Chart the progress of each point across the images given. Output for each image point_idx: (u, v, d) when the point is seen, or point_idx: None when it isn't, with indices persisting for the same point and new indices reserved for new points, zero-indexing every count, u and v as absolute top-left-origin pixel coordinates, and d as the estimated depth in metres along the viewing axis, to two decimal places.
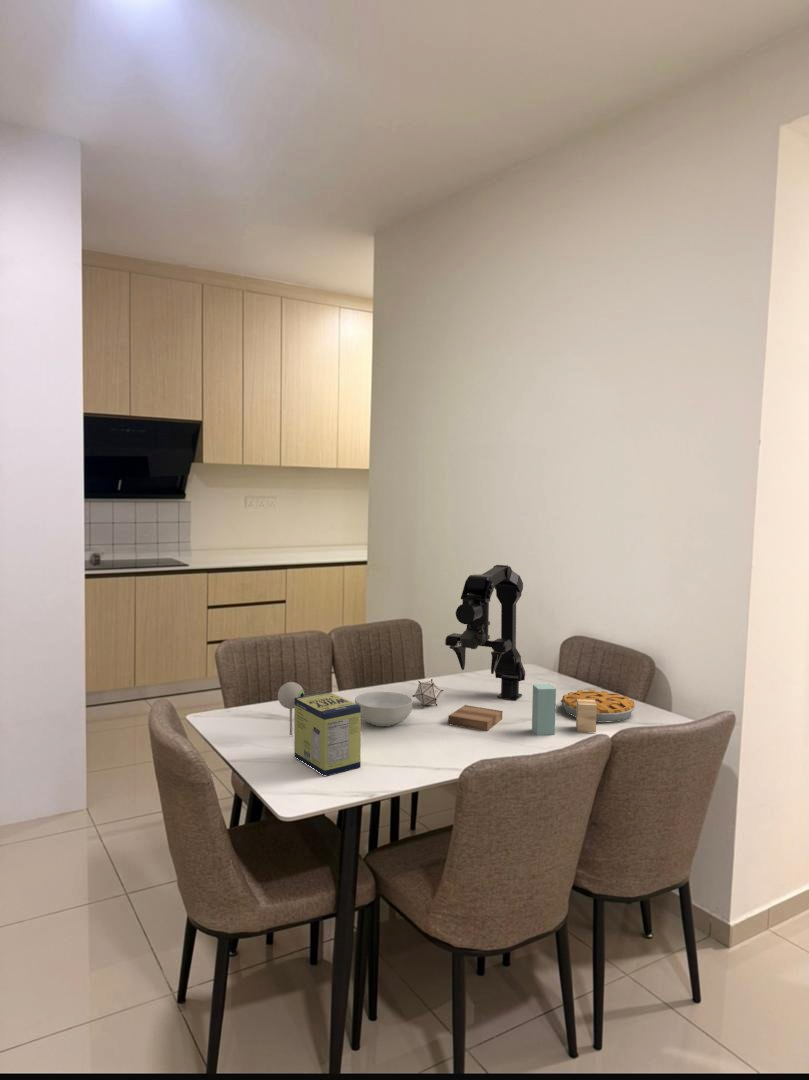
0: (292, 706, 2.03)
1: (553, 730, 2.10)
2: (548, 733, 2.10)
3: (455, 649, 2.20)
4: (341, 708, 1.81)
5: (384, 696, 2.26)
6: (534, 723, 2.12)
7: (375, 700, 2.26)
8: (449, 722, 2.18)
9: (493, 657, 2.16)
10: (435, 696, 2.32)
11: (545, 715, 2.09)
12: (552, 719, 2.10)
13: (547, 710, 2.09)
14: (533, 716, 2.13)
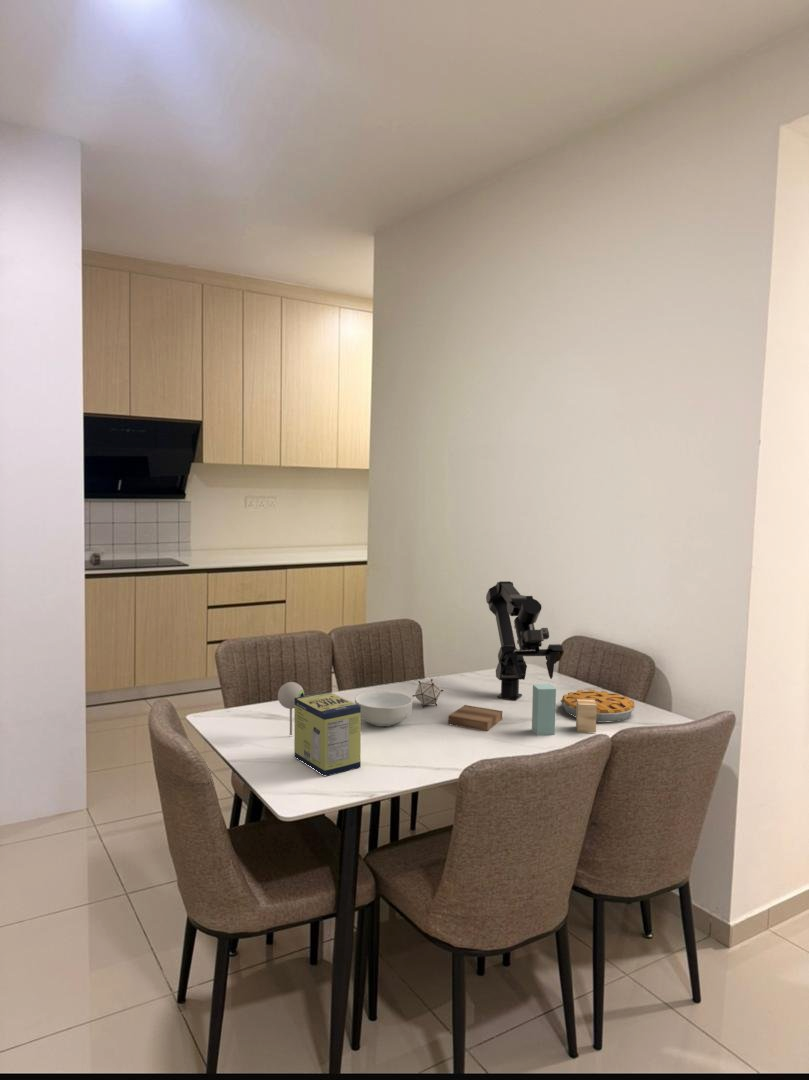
0: (292, 706, 2.03)
1: (553, 730, 2.10)
2: (548, 733, 2.10)
3: (513, 655, 2.20)
4: (341, 708, 1.81)
5: (384, 696, 2.26)
6: (534, 723, 2.12)
7: (375, 700, 2.26)
8: (449, 722, 2.18)
9: (551, 659, 2.21)
10: (435, 696, 2.32)
11: (545, 715, 2.09)
12: (552, 719, 2.10)
13: (547, 710, 2.09)
14: (533, 716, 2.13)
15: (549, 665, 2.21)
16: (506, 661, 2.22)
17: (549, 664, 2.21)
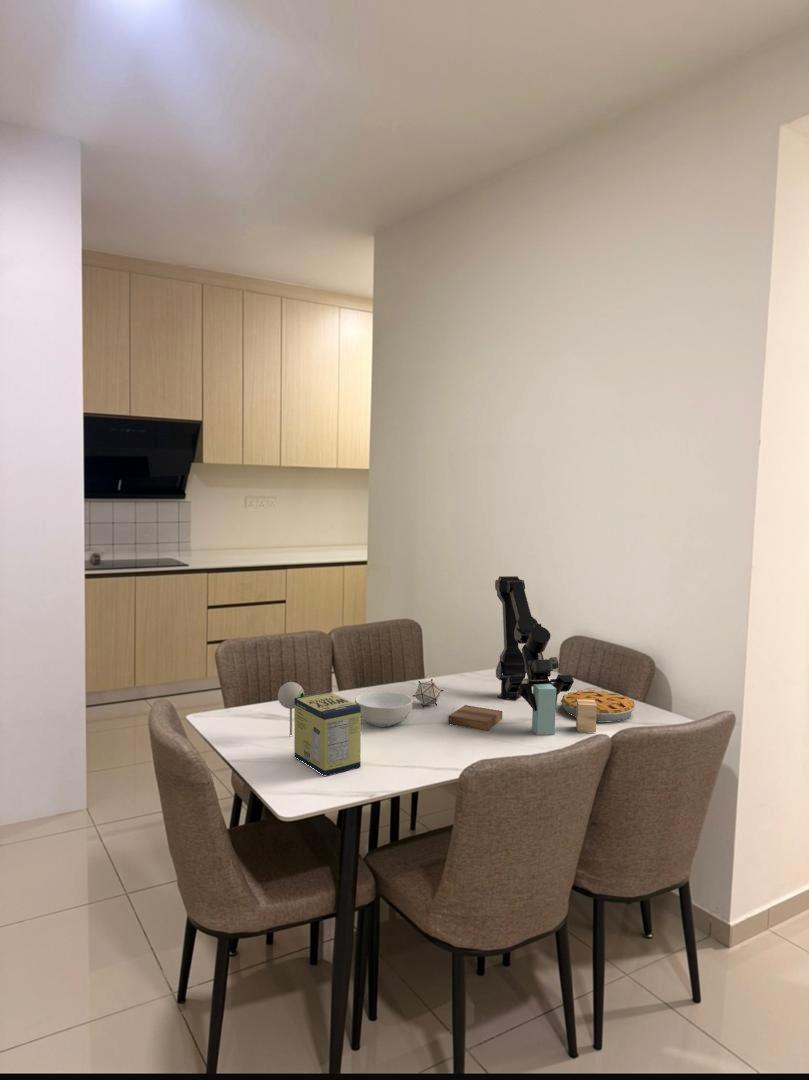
0: (292, 706, 2.03)
1: (553, 730, 2.10)
2: (548, 733, 2.10)
3: (528, 685, 2.12)
4: (341, 708, 1.81)
5: (384, 696, 2.26)
6: (534, 723, 2.12)
7: (374, 700, 2.26)
8: (449, 722, 2.18)
9: None
10: (435, 696, 2.32)
11: (545, 715, 2.09)
12: (552, 719, 2.10)
13: (547, 710, 2.09)
14: (533, 716, 2.13)
15: None
16: (520, 691, 2.14)
17: None
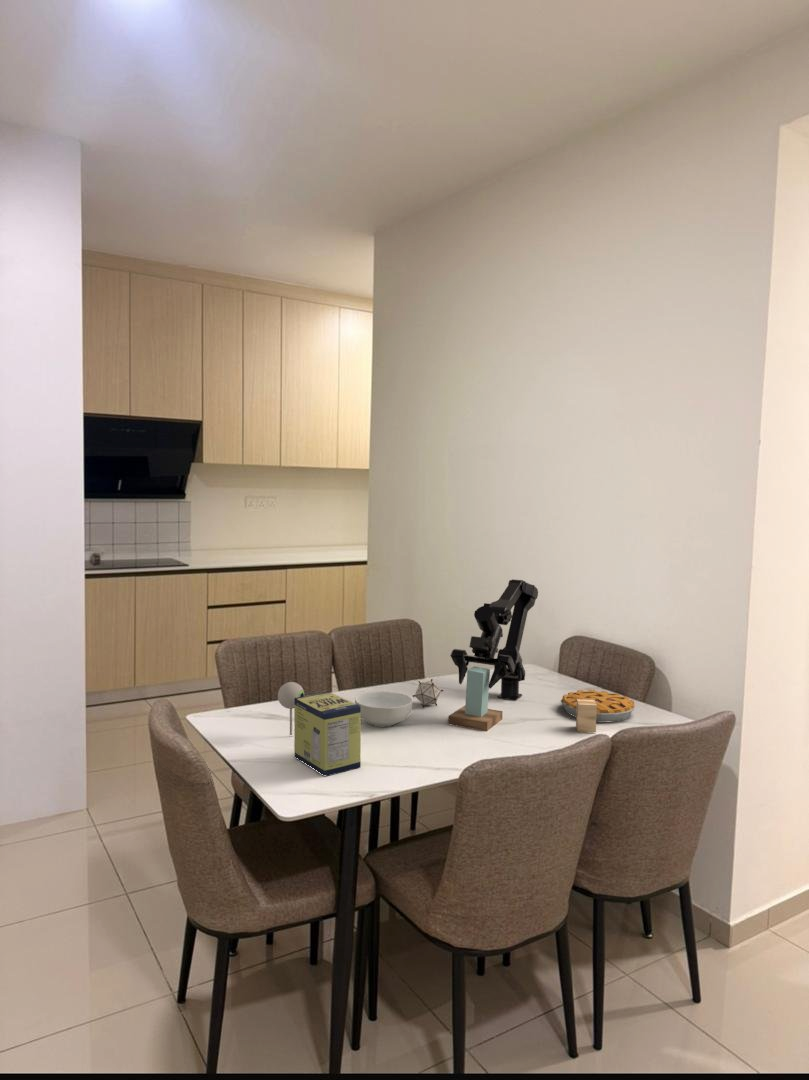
0: (292, 706, 2.03)
1: (480, 712, 2.17)
2: (475, 714, 2.18)
3: (459, 659, 2.23)
4: (341, 708, 1.81)
5: (384, 696, 2.26)
6: None
7: (374, 700, 2.26)
8: (449, 722, 2.18)
9: (495, 669, 2.18)
10: (435, 696, 2.32)
11: (472, 696, 2.18)
12: (479, 702, 2.17)
13: (475, 692, 2.17)
14: None
15: None
16: (458, 665, 2.26)
17: None
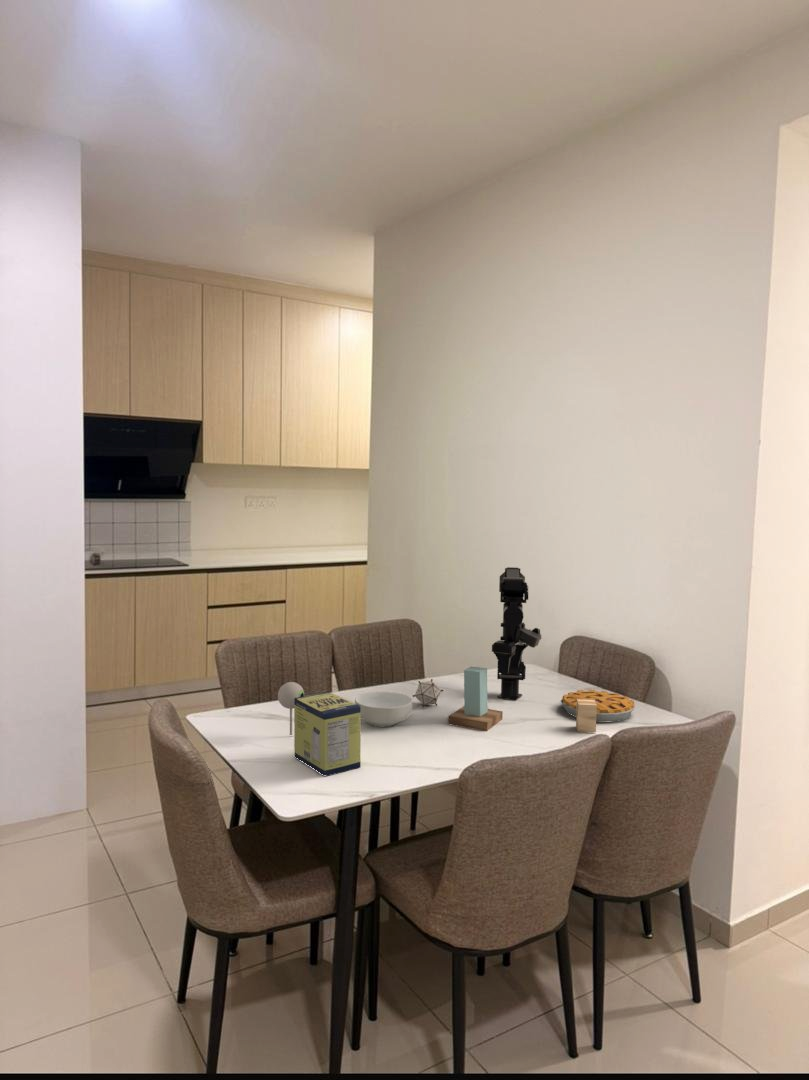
0: (292, 706, 2.03)
1: (479, 712, 2.17)
2: (474, 714, 2.18)
3: (513, 654, 2.21)
4: (341, 708, 1.81)
5: (384, 696, 2.26)
6: None
7: (374, 700, 2.26)
8: (449, 722, 2.18)
9: (522, 651, 2.32)
10: (435, 696, 2.32)
11: (470, 696, 2.18)
12: (477, 701, 2.17)
13: (472, 691, 2.18)
14: None
15: (517, 654, 2.32)
16: None
17: (518, 653, 2.32)
